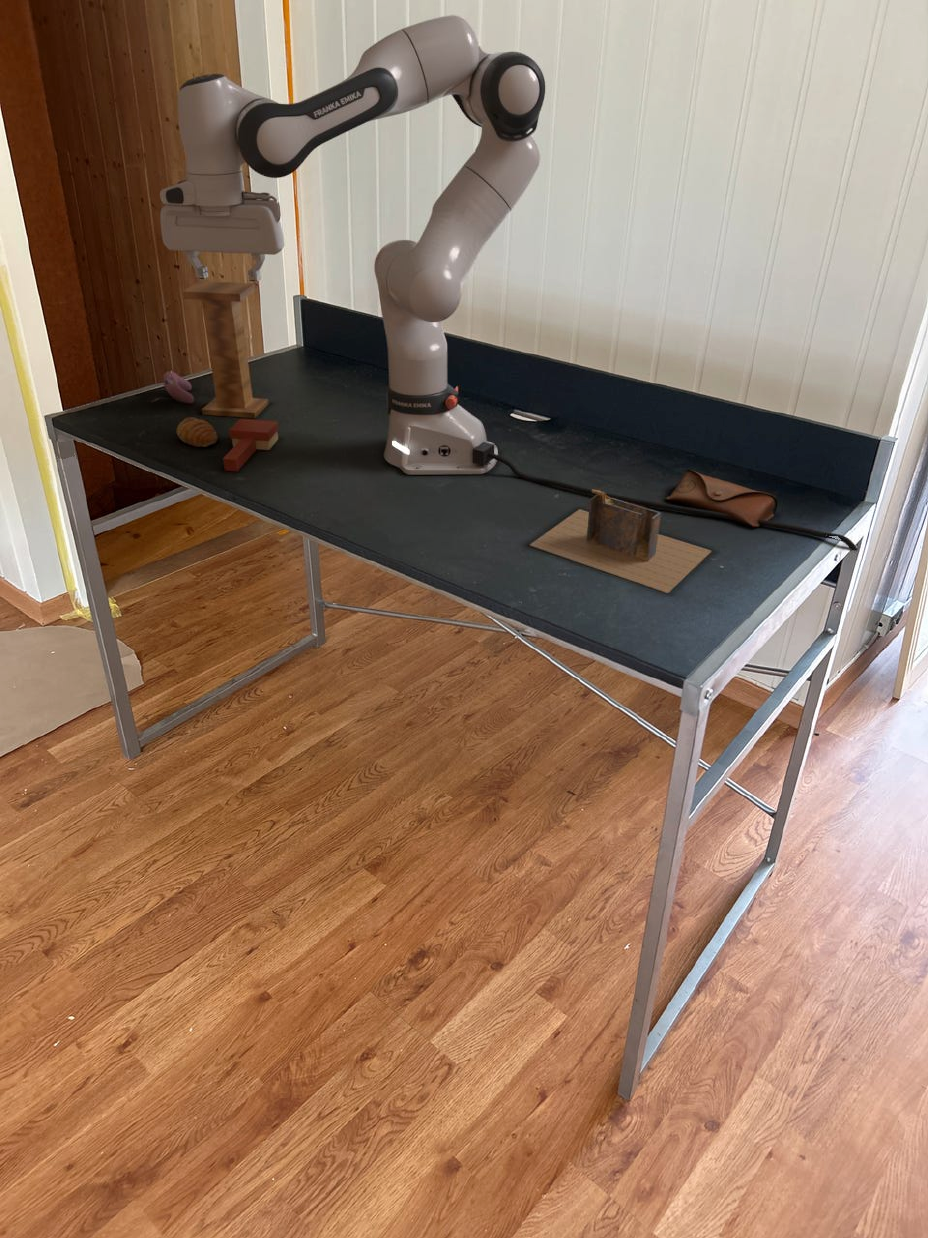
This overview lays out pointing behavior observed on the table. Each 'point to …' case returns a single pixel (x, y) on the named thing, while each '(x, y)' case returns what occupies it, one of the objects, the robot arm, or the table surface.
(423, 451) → the robot arm
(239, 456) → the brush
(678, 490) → the sunglasses case
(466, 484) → the table surface
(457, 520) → the table surface
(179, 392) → the video game controller
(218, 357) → the stand
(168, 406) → the table surface
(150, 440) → the table surface
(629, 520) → the ruin model on sheet
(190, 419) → the pastry
